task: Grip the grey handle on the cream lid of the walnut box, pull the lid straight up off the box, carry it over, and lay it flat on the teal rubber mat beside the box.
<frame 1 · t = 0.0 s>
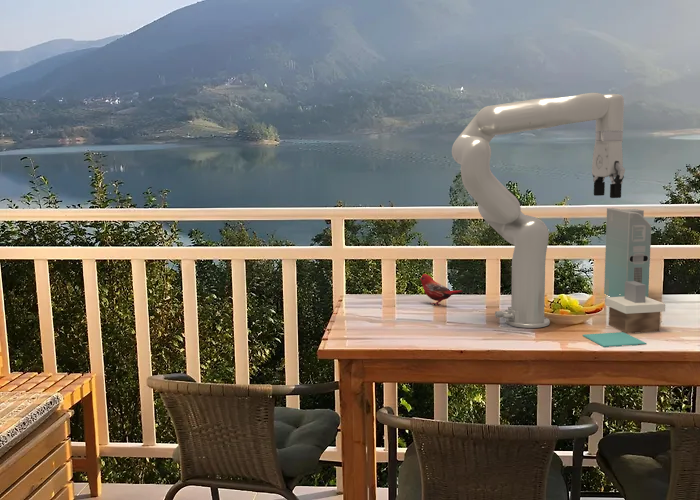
hand: (607, 196, 229), 37 cm above the table, tool pointing down, fingers open, 9 cm apart
mat: (613, 340, 210), on the table
device: (625, 299, 262), on the table
decorative bird figurine: (440, 306, 256), on the table
box: (633, 328, 223), on the table
lid: (634, 308, 222), point 6 cm above the table, touching box
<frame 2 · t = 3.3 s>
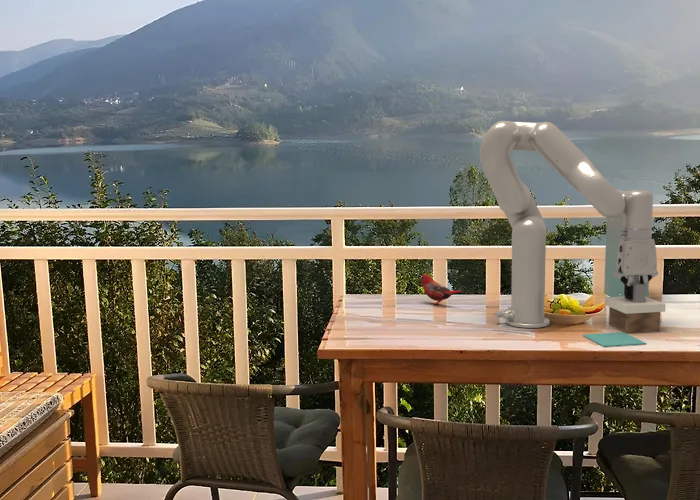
hand: (634, 298, 222), 9 cm above the table, tool pointing down, fingers closed on lid, 3 cm apart
lid: (634, 308, 222), point 6 cm above the table, touching box, gripper
everything else where it was.
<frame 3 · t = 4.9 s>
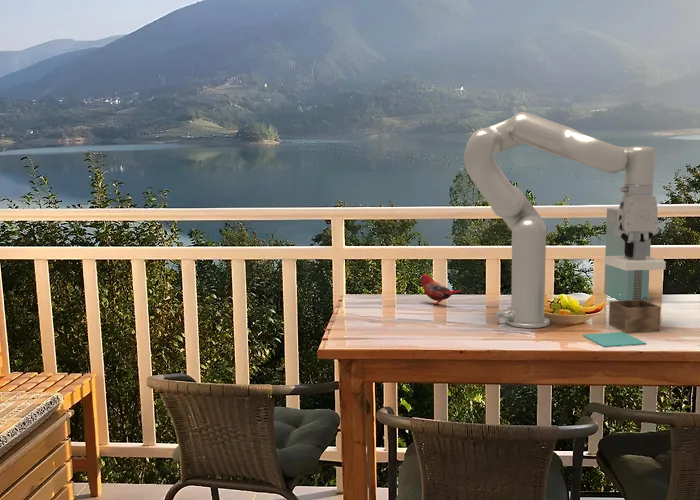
hand: (635, 255, 220), 21 cm above the table, tool pointing down, fingers closed on lid, 3 cm apart
lid: (634, 266, 221), point 18 cm above the table, touching gripper
everything else where it was.
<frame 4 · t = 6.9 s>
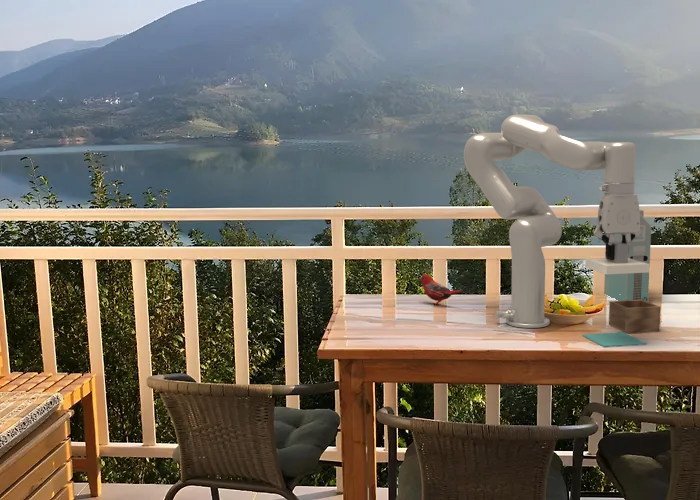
hand: (616, 258, 207), 22 cm above the table, tool pointing down, fingers closed on lid, 3 cm apart
lid: (616, 269, 208), point 19 cm above the table, touching gripper
everything else where it was.
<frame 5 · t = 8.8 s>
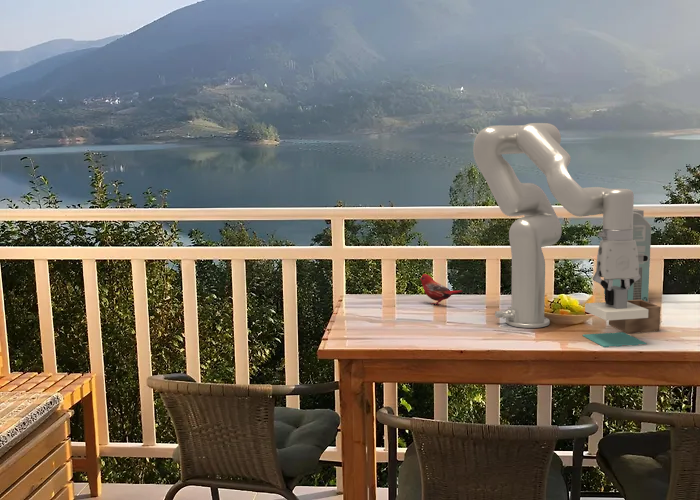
hand: (616, 303, 209), 10 cm above the table, tool pointing down, fingers closed on lid, 3 cm apart
lid: (615, 314, 209), point 7 cm above the table, touching gripper
everything else where it was.
when the fingers open (5 cm above the table, at t = 10.6 s): lid drops 1 cm, resting on mat.
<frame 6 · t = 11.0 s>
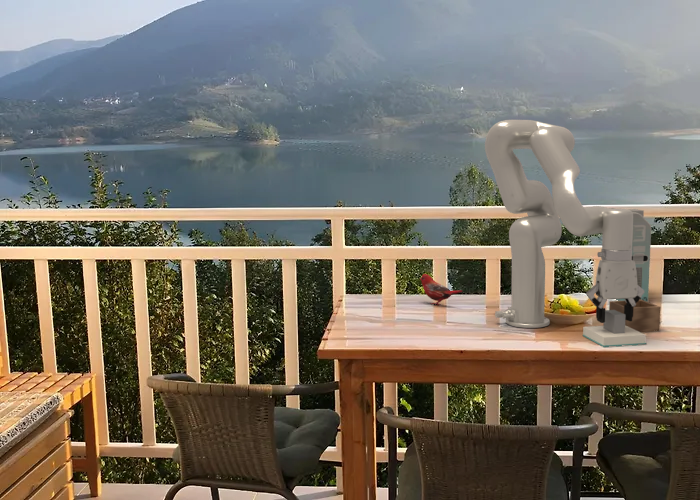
hand: (614, 320, 210), 5 cm above the table, tool pointing down, fingers open, 7 cm apart
lid: (613, 338, 210), resting on mat
everything else where it was.
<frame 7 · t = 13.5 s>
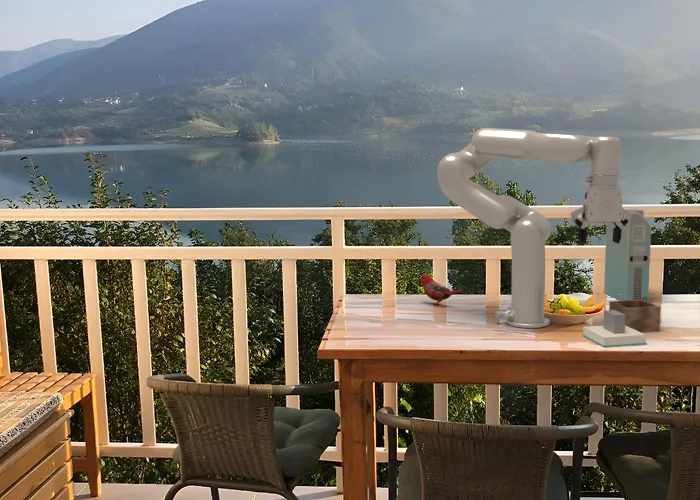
hand: (599, 242, 219), 25 cm above the table, tool pointing down, fingers open, 9 cm apart
nothing on the table moved.
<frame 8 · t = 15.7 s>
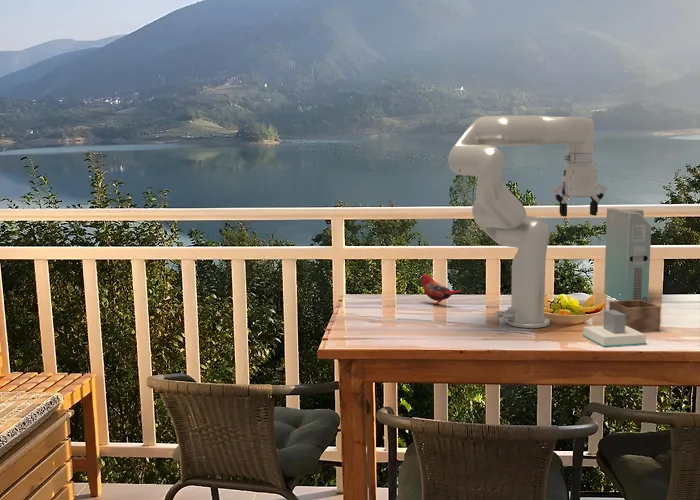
hand: (578, 215, 239), 30 cm above the table, tool pointing down, fingers open, 9 cm apart
nothing on the table moved.
at the end: lid inside the target area on the mat (0.0 cm from its centre), point 0.4 cm above the mat's base; lid tilted 0°; the gripper is holding nothing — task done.
